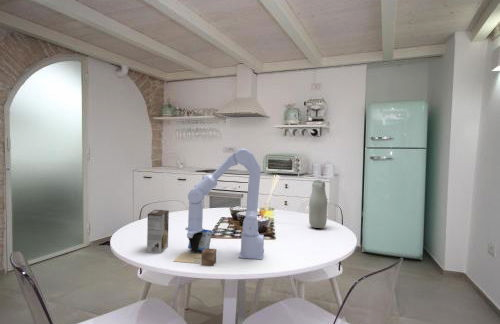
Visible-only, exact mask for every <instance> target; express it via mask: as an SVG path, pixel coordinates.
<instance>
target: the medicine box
mask: <svg viewBox="0 0 500 324" xmlns="http://www.w3.org/2000/svg"><path fill="white" fill-rule="evenodd" d="M201 232H202V233H203V235H202V236H201V239H200V242H199V246H198V250H197V251H201V252H202V251H203V250H204V249H205V248H209V249H210V245H211V240H212V234H213V230H211V229H205V228H203V230H202V231H201ZM187 246H188V247H187V249H188V250H191V245H190V241H189V240H188V245H187Z"/></svg>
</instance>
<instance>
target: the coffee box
mask: <svg viewBox="0 0 500 324" xmlns="http://www.w3.org/2000/svg"><path fill="white" fill-rule="evenodd" d="M169 212H170V211H169V210H166V209H165V210H164V209H154V210H152V211H150V212H149V213H147V231H146V233H147V235H146V238H147V239H146V253H149V254H163V252H164V251H165V250H166V249H167V248H169V214H170V213H169Z"/></svg>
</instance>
